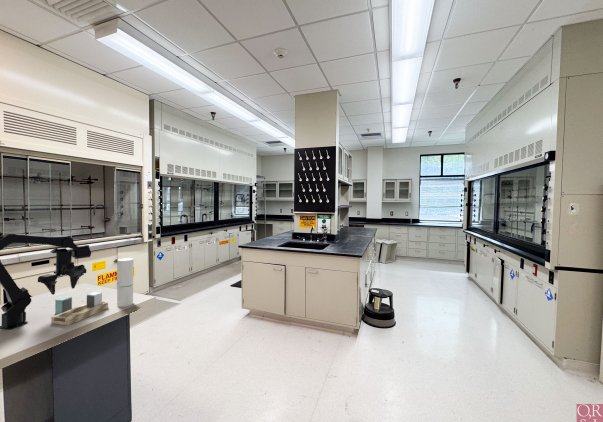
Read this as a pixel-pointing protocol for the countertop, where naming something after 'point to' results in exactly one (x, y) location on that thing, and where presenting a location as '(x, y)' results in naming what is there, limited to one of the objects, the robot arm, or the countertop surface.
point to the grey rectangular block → (94, 299)
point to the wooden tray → (77, 314)
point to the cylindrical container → (125, 282)
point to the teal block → (63, 304)
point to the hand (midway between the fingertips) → (63, 291)
